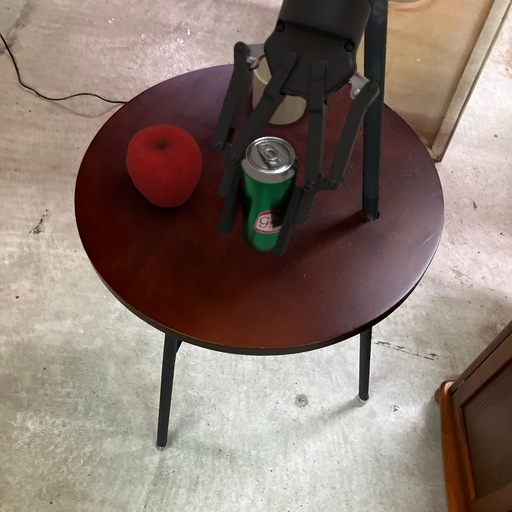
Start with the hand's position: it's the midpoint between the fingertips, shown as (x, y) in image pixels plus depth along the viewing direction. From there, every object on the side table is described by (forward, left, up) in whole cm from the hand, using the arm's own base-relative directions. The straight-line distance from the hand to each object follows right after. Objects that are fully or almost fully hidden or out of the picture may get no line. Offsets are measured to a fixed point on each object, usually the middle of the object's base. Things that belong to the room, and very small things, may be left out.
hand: (251, 242), depth 53 cm
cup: (-3, -37, -16) cm, 40 cm away
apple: (+12, -18, -16) cm, 27 cm away
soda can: (-1, -4, -4) cm, 5 cm away
